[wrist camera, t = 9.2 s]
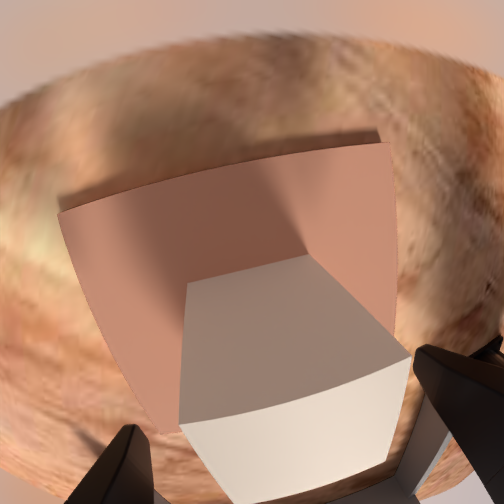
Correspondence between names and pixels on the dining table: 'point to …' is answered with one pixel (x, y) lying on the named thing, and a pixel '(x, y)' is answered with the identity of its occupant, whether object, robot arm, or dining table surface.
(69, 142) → the dining table surface
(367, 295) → the terracotta mat
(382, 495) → the open u-shaped enclosure
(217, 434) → the ivory block
